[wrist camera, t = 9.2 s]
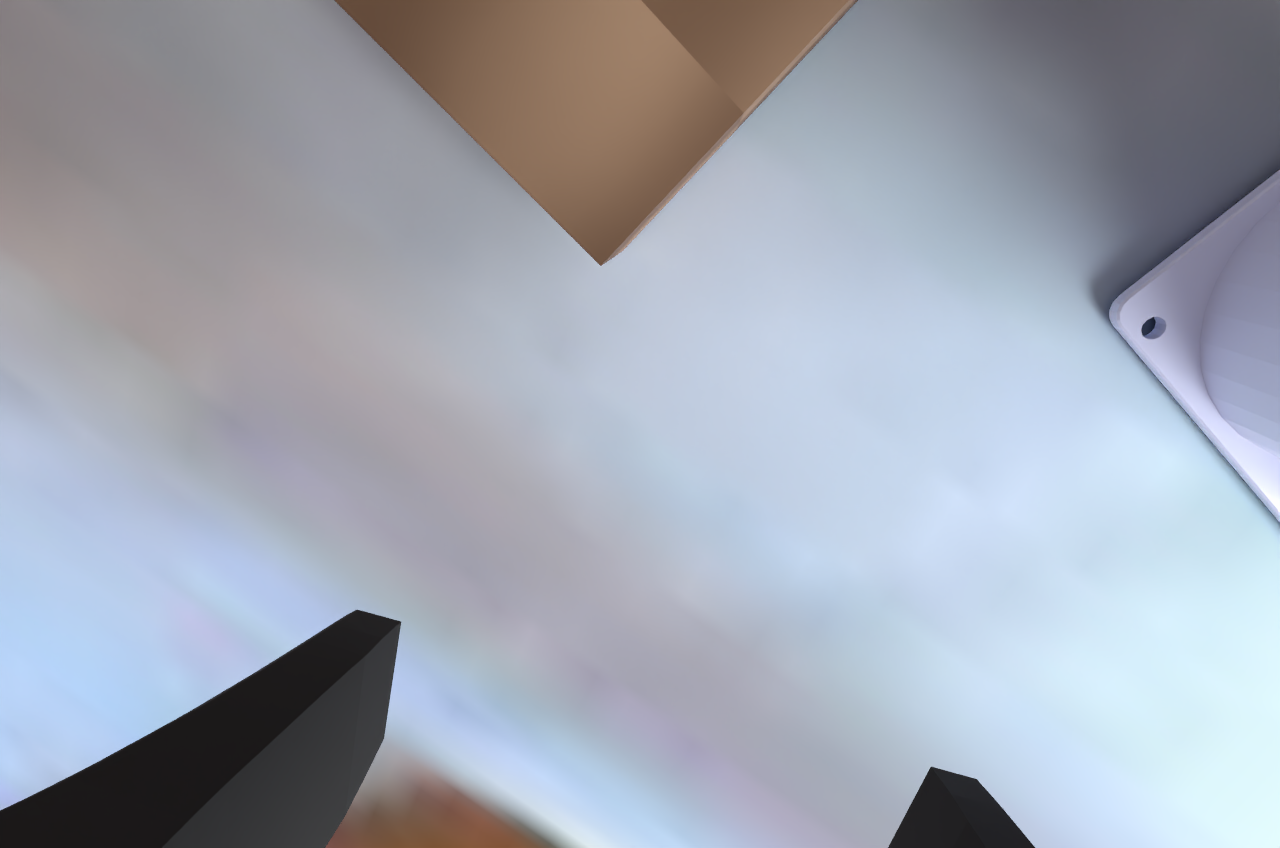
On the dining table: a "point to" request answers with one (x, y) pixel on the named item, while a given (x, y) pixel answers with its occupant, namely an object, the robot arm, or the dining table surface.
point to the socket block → (599, 89)
